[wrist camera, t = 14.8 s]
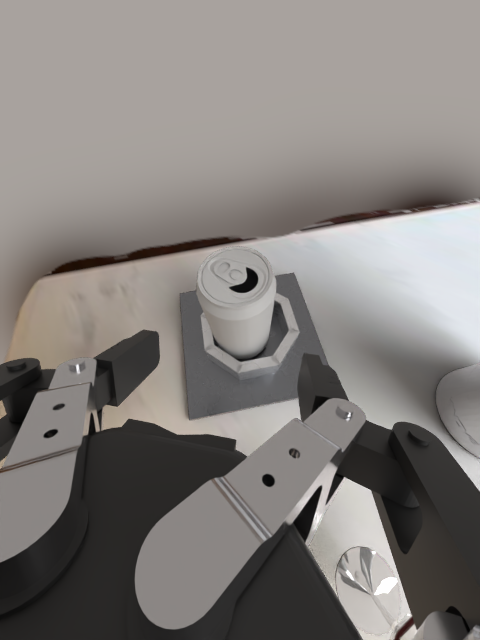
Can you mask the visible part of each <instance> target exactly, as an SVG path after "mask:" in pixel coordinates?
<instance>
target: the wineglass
mask: <svg viewBox="0 0 480 640" xmlns="http://www.w3.org/2000/svg"><path fill="white" fill-rule="evenodd" d="M336 588H337V593H338V597H339V600H340V602H341V604H342V606H343V607H344V609H345V611H346V612H347V614H348V616H349V617H350V619H351V621H352V622H353V623H354V625H355V626H356V627H357V628H359V629H360V630H362V631H364V632H365V633H367V634H371V635H377V636H379V635H382V634H385V633H388V632H389V631H390V630H391V629H392V630H393V631H392V634H391V636H390V639H389V640H411V639H412V638H413V636H414V635H415V634H416V632H417V630H416V627H415V623H414V620H413V617H412V614H411V613H409V614H407V615H406V616H405V617H404V618H403V619H402V620H401V621H400V622H398V618H399V616H400V610H401V596H400V589H399V585H398V582H397V580H396V577H395V575H394V572H393V571H392V569H391V568H390V566H389V565H388V563H387V562H386V561H385V560H384V559H383V558H382V557H381V556H380V555H379V554H378V553H376V552H374V551H373V550H371V549H369V548H364V547H356V548H352V549H349V550H348V551H347V552H346V553H345V554H344V555H343V556H342V558H341V560H340V562H339V564H338V567H337V572H336Z"/></svg>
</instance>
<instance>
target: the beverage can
mask: <svg viewBox="0 0 480 640" xmlns="http://www.w3.org/2000/svg"><path fill="white" fill-rule="evenodd" d="M196 293H197V297H198V300H199V302H200V305H201V307H202V309H203V312H204V314H205V317H206V319H207V321H208V324H209V326H210V329H211V331H212V333H213V336H214V338H215V340H216V343H217V345H218V347H219V348H220V349H221V350H223V351H224V352H226V353H227V354H229V355H230V356H232V357H233V358H235V359H249V358H252V357H254V356H256V355H258V354H259V353H260V352H261V351H262V350H263V349H264V348H265V346H266V344H267V342H268V339H269V332H270V326H271V320H272V313H273V307H274V300H275V294H276V278H275V275H274V273H273V271H272V267H271V265H270V263H269V261H268V260H267V259H266V257H265V256H263V255H262V254H261V253H259V252H258V251H256V250H253V249H251V248H247V247H240V246H234V247H227V248H223V249H220V250H218V251H216V252H214V253H212V254H211V255H210V256H208V257H207V258H206V259H205V260H204V261H203V263H202V264H201V266H200V268H199V271H198V275H197V285H196Z"/></svg>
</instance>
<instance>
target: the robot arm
mask: <svg viewBox="0 0 480 640" xmlns="http://www.w3.org/2000/svg"><path fill="white" fill-rule="evenodd" d="M159 359H160V351H159V334H158V332H156V331H149V330H142V331H140V332H139V333H137V334H135V335H134V336H132V337H130V338H127V339H124V340H122V341H121V342H119V343H117V344H116V345H114V346H112V347H111V348H110V349H108V350H106V351H104V352H103V353H101V354H99V355H98V356H96V357H94V358H88V357H83V358H76V359H72V360H68V361H66V362H64V363H62V364H60V365H59V366H58V367H57V369H44V370H41V366H40V361H39V360H38V359H34V358H23V359H17V360H13V361H9V362H6V363H4V364H1V365H0V401H1V400H2V401H3V404H4V407H5V410H6V413H7V415H6V416H4V417H3V418H1V419H0V461H1V460H2V459H4V458H5V457H6V456H7V455H8V456H7V458H6V460H5V463H4V465H3V467H2V468H1V469H0V640H363V639H362V637H361V636H360V634H359V632H358V631H357V629H356V627H355V626H354V624H353V622H352V621H351V619H350V617H349V616H348V614H347V612H346V611H345V609H344V607H343V606H342V604H341V602H340V601H339V599H338V597H337V596H336V594H335V592H334V591H333V589H332V587H331V586H330V584H329V582H328V581H327V579H326V577H325V575H324V574H323V572H322V570H321V569H320V567H319V565H318V564H317V562H316V560H315V559H314V557H313V555H312V554H311V552H310V550H309V549H308V546H309V544H310V542H311V540H312V539H313V537H314V535H315V533H316V531H317V529H318V526H319V524H320V522H321V520H322V518H323V516H324V514H325V512H326V511H327V509H328V507H329V506H330V504H331V502H332V501H333V499H334V498H335V496H336V494H337V493H338V491H339V490H340V488H341V486H342V485H343V483H344V481H345V480H346V478H348V479H350V480H352V481H354V482H356V483H358V484H360V485H362V486H364V487H366V488H368V489H370V490H371V491H372V494H373V497H374V500H375V503H376V506H377V509H378V513H379V516H380V519H381V522H382V525H383V528H384V531H385V534H386V537H387V540H388V543H389V546H390V549H391V553H392V556H393V559H394V562H395V565H396V568H397V571H398V574H399V577H400V580H401V583H402V586H403V590H404V593H405V596H406V599H407V602H408V605H409V608H410V611H411V614H412V617H413V620H414V623H415V627H416V630H417V632H416V634H415V635H414V636H413V638H412V639H411V640H480V491H479V490H478V489H477V488H476V486H475V485H474V484H473V482H472V481H471V480H470V478H469V477H468V476H467V474H466V473H465V472H464V471H463V469H462V468H461V467H460V465H459V464H458V463H457V461H456V460H455V459H454V457H453V456H452V455H451V454H450V452H449V451H448V450H447V448H446V447H445V446H444V444H443V443H442V442H441V441H440V440H439V439H438V438H437V437H436V436H435V435H433V434H432V433H431V432H429V431H427V430H426V429H424V428H422V427H420V426H418V425H415V424H412V423H408V422H397V423H395V424H394V426H393V428H392V430H389V429H386V428H384V427H381V426H378V425H376V424H373V423H371V422H369V421H367V420H366V416H365V413H364V412H363V411H362V410H361V409H360V408H359V407H358V406H357V405H355V404H354V403H352V402H350V401H349V400H348V398H347V396H346V393H345V391H344V389H343V387H342V385H341V383H340V380H339V378H338V376H337V374H336V372H335V371H334V370H333V369H332V368H331V367H330V366H327V365H323V364H322V362H321V359H320V356H319V355H317V354H309V353H303V356H302V361H301V366H300V372H299V377H298V384H297V392H298V399H299V406H300V414H301V420H299V419H298V418H294V419H293V420H291V421H290V422H289V423H288V424H287V425H285V426H284V427H283V428H282V429H281V430H279V431H278V432H277V433H276V434H275V435H273V436H272V437H271V438H270V439H269V440H267V441H266V442H265V443H264V444H263V445H262V446H260V447H259V448H258V449H257V450H256V451H254V452H253V453H252V454H251V455H250V456H248V457H247V456H246V455H244V454H243V453H241V452H239V451H237V450H236V440H235V439H230V438H225V437H219V436H214V435H209V434H204V435H177V434H174V433H172V432H170V431H168V430H166V429H164V428H162V427H160V426H158V425H156V424H153V423H148V422H143V421H138V420H133V419H128V420H127V421H126V423H125V424H124V425H123V426H122V427H118V428H110V429H106V430H103V425H104V409H103V407H104V406H105V405H111V406H117V407H118V406H119V405H120V404H121V403H122V402H123V401H124V400H125V399H126V398H127V397H128V396H129V395H130V394H131V393H132V392H133V391H134V390H135V389H136V388H137V387H138V386H139V384H140V383H141V382H142V381H143V380H144V379H145V378H146V377H147V376H148V375H149V374H150V373H151V372H152V371H153V370H154V369H155V368H156V367H157V366H158V363H159ZM436 404H437V409H438V413H439V415H440V417H441V419H442V422H443V423H444V425H445V427H446V428H447V430H448V431H449V433H450V434H451V435H452V436H453V437H454V438H455V440H456V441H457V442H458V443H459V444H460V445H462V446H463V447H464V448H465V449H466V450H467V451H469V452H470V453H472V454H473V455H475V456H477V457H478V458H480V363H478V364H474V365H471V366H468V367H464V368H461V369H458V370H454V371H452V372H450V373H448V374H446V375H445V376H444V377H443V378H442V379H441V381H440V383H439V384H438V387H437V391H436Z"/></svg>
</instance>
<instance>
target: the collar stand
mask: <svg viewBox="0 0 480 640" xmlns="http://www.w3.org/2000/svg"><path fill="white" fill-rule="evenodd" d="M275 278H276V294H275V300H274V307H273V313H272V320H271V326H270V332H269V339H268V342H267V344H266V346H265V348H264V349H263V350H262V351H261V352H260V353H259V354H258V355H256V356H254V357H252V358H249V359H235V358H233V357H232V356H230V355H229V354H227V353H226V352H224V351H223V350H221V349H220V348H219V347H218V345H217V343H216V340H215V338H214V336H213V333H212V331H211V329H210V326H209V324H208V321H207V319H206V317H205V314H204V312H203V309H202V307H201V305H200V302H199V300H198V297H197V293H196V291H192V292H186V293H181V294H180V304H181V317H182V330H183V344H184V357H185V370H186V383H187V396H188V409H189V420H196V419H201V418H206V417H211V416H216V415H221V414H226V413H230V412H235V411H240V410H245V409H250V408H255V407H260V406H265V405H269V404H274V403H279V402H284V401H289V400H294V399H298V392H297V384H298V377H299V372H300V366H301V361H302V356H303V353H309V354H317V355H319V356H320V359H321V362H322V364H323V365H327V366H329V365H328V363H327V360H326V357H325V355H324V352H323V349H322V347H321V344H320V341H319V339H318V336H317V333H316V330H315V328H314V325H313V322H312V320H311V317H310V314H309V312H308V309H307V306H306V304H305V301H304V298H303V296H302V293H301V290H300V288H299V285H298V282H297V279H296V277H295V274H294V273H289V274H284V275H279V276H275Z"/></svg>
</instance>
